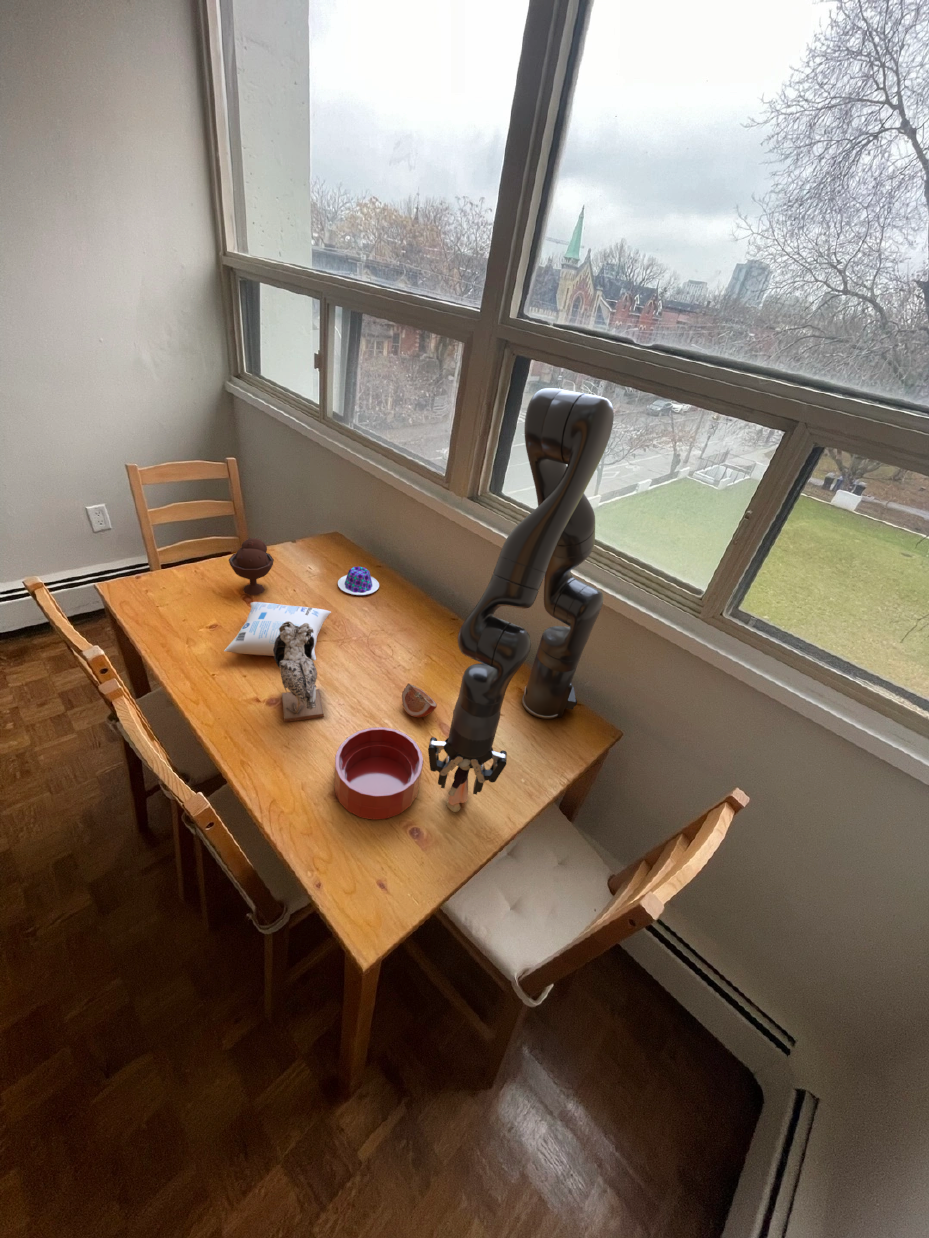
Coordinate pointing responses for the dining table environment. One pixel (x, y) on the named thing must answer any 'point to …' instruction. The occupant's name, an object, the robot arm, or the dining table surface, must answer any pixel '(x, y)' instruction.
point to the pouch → (273, 627)
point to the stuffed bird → (297, 672)
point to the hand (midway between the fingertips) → (459, 787)
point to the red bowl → (377, 772)
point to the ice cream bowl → (252, 564)
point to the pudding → (358, 582)
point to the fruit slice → (417, 701)
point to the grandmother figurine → (459, 786)
